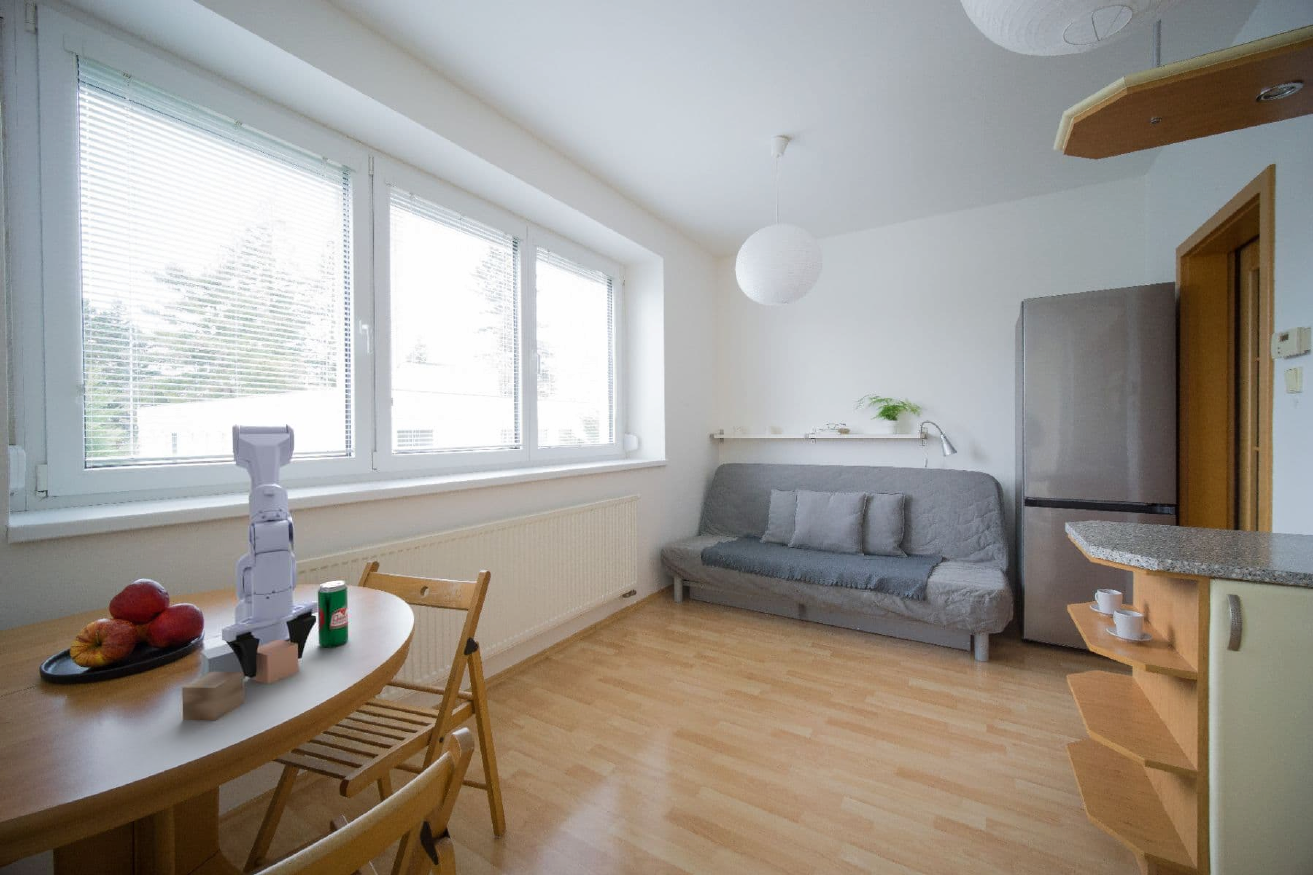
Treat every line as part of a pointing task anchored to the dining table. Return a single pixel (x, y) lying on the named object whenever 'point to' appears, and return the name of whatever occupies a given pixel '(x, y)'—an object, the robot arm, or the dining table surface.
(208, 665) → the slate blue block
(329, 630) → the soda can
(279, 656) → the terracotta block
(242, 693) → the walnut block
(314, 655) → the dining table surface
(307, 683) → the dining table surface
